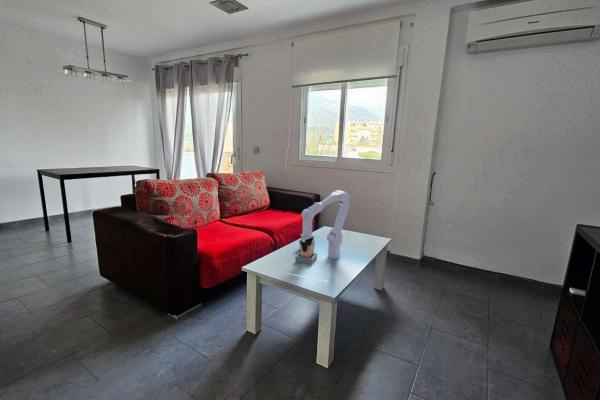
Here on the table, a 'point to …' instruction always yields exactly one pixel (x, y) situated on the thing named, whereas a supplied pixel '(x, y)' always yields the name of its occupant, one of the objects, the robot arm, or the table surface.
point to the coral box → (308, 252)
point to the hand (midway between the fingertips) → (306, 249)
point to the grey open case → (311, 244)
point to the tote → (306, 259)
